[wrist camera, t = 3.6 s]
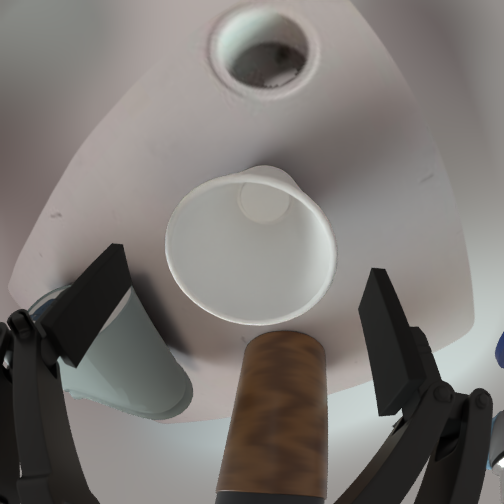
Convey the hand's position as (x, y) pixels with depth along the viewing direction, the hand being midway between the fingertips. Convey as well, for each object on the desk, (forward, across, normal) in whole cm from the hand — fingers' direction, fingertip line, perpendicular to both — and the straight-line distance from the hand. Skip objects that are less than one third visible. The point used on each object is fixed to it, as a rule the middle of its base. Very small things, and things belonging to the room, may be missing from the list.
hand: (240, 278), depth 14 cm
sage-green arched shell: (+13, -21, -22) cm, 33 cm away
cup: (+13, 0, 0) cm, 13 cm away
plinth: (+12, +4, -22) cm, 26 cm away
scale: (-8, +4, -22) cm, 24 cm away
